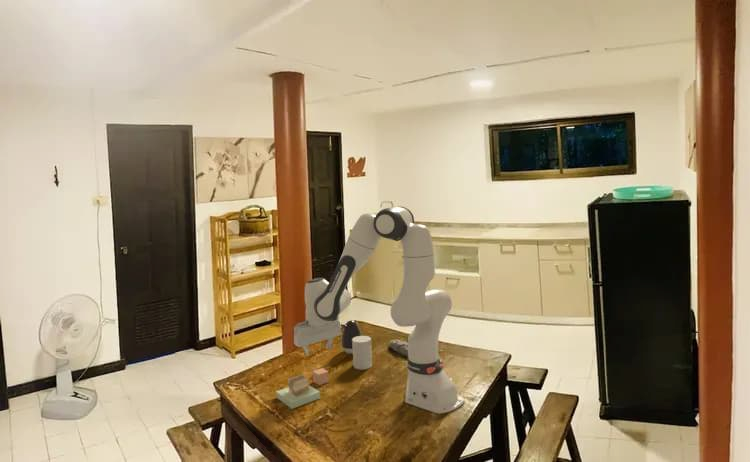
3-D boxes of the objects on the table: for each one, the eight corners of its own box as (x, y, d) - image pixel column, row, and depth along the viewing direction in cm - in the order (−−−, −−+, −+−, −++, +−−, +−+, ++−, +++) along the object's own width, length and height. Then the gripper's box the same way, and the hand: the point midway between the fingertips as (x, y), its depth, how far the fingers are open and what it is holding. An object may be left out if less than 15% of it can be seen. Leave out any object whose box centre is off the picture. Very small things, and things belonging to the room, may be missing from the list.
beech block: (308, 392, 181) (308, 379, 181) (295, 396, 178) (295, 383, 177) (301, 387, 185) (300, 374, 185) (288, 391, 182) (287, 379, 181)
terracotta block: (328, 382, 195) (328, 371, 195) (319, 385, 193) (318, 374, 192) (322, 378, 199) (322, 368, 198) (313, 381, 196) (312, 371, 196)
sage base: (320, 398, 181) (319, 391, 181) (291, 408, 174) (291, 402, 174) (303, 387, 191) (303, 381, 190) (276, 397, 183) (275, 391, 183)
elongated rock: (431, 374, 202) (449, 369, 207) (432, 362, 201) (449, 357, 207) (382, 347, 230) (399, 343, 236) (383, 336, 229) (399, 332, 235)
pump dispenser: (337, 351, 228) (336, 319, 226) (357, 346, 233) (355, 316, 231) (346, 358, 219) (345, 325, 217) (367, 353, 224) (365, 321, 222)
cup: (371, 369, 206) (370, 342, 204) (352, 369, 206) (351, 342, 205) (372, 361, 214) (371, 335, 212) (354, 362, 214) (352, 336, 213)
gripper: (297, 326, 184) (299, 361, 186) (342, 314, 196) (343, 347, 198) (289, 322, 189) (291, 356, 191) (333, 311, 201) (335, 343, 203)
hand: (318, 351), depth 194 cm, fingers open, 8 cm apart
